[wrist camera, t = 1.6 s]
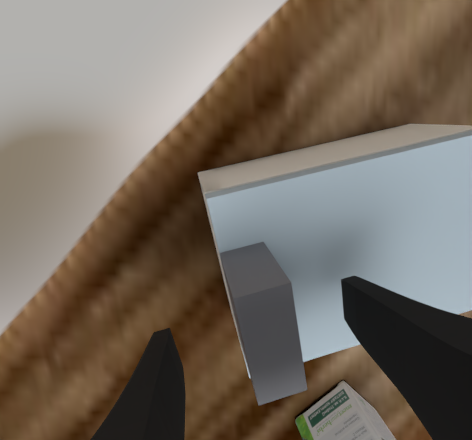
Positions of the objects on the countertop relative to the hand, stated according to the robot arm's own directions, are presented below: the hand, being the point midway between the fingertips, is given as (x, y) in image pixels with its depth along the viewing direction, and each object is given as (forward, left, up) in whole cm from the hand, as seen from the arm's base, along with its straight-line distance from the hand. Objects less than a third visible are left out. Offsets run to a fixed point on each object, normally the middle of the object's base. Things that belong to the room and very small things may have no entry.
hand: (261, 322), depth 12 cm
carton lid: (-6, 0, -3) cm, 7 cm away
